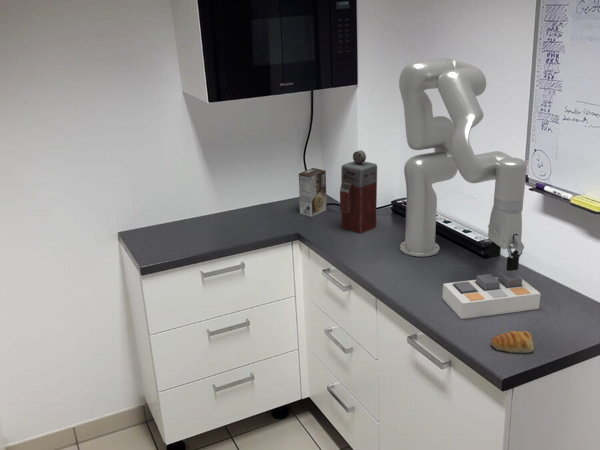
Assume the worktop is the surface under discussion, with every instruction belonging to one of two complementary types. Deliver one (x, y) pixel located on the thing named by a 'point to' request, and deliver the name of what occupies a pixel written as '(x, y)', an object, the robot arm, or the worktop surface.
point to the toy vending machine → (358, 194)
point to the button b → (487, 282)
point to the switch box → (491, 300)
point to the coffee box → (312, 192)
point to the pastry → (513, 342)
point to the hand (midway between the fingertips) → (502, 263)
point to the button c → (509, 279)
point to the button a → (465, 287)
